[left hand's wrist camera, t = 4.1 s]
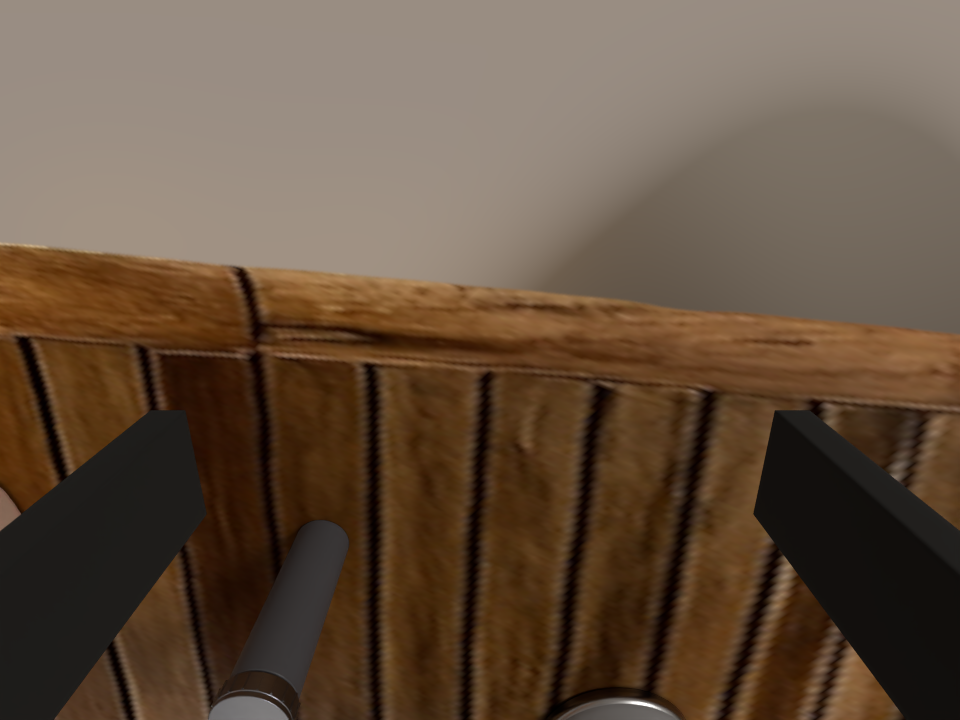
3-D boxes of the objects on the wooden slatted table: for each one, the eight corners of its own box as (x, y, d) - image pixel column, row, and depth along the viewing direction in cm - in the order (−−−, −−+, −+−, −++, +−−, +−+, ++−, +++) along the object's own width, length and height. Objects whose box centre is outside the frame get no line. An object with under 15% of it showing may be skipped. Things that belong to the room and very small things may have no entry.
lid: (250, 657, 33) (239, 682, 31) (317, 699, 34) (309, 725, 32) (203, 699, 34) (189, 726, 32) (268, 739, 35) (258, 766, 34)
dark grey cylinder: (318, 510, 47) (243, 679, 32) (359, 540, 48) (305, 718, 33) (286, 541, 48) (199, 719, 33) (326, 570, 49) (260, 755, 34)
